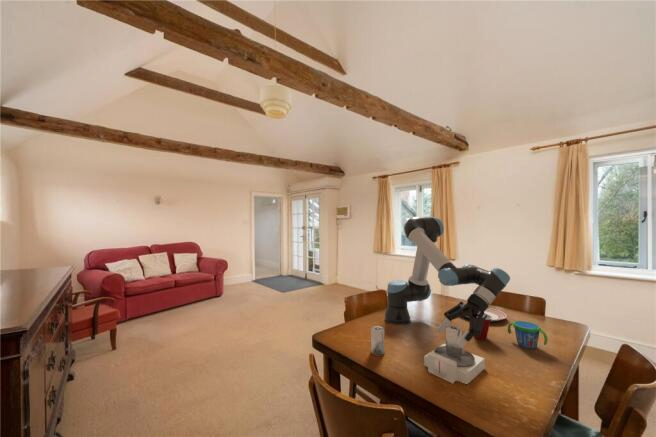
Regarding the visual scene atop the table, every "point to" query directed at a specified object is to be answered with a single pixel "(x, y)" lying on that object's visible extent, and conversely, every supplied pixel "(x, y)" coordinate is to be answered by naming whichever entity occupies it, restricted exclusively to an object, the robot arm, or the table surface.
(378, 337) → the cylinder
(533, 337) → the snack cup
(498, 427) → the table surface
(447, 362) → the scale
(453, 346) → the silver metal cylinder
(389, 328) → the table surface
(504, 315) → the dinner plate
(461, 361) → the scale pan
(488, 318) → the plastic cup
